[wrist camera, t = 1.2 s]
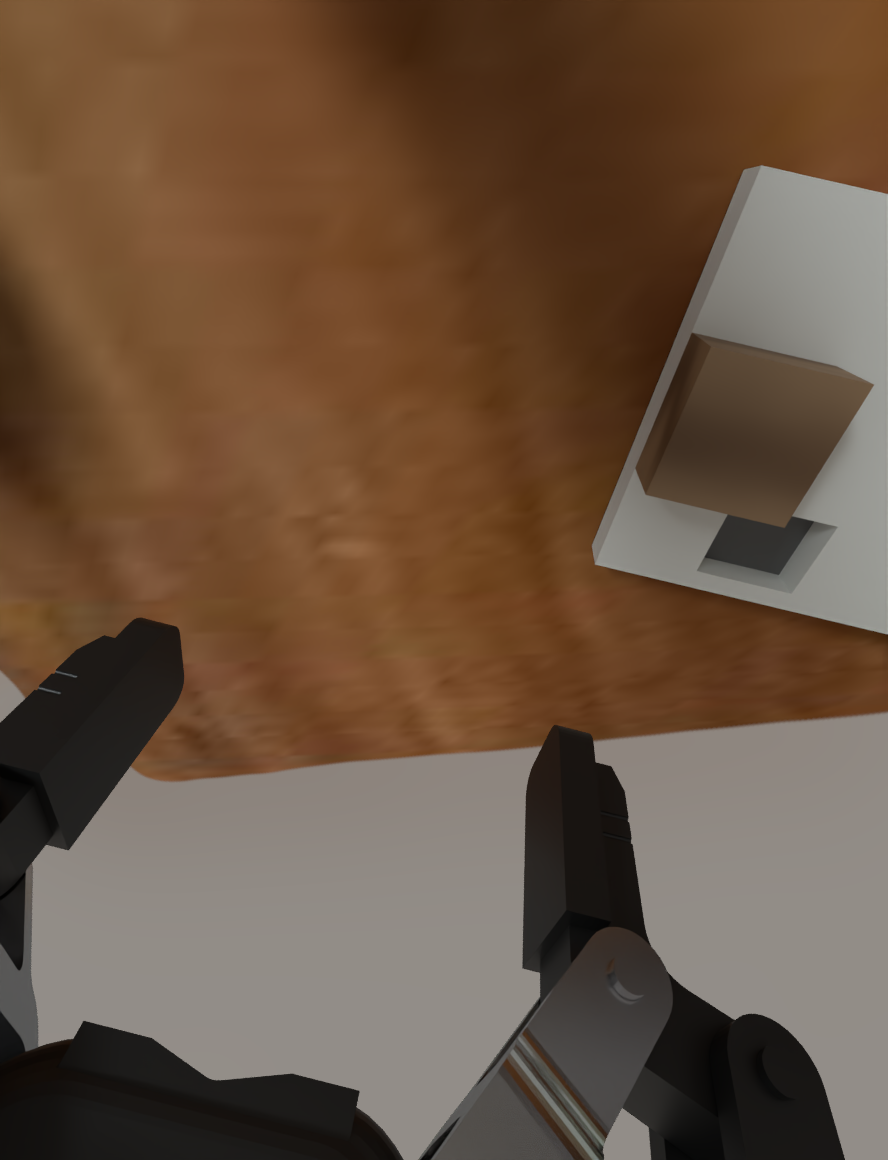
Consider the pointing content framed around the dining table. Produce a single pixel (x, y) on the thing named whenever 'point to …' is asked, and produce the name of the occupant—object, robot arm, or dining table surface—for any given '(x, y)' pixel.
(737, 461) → the block
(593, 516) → the dining table surface
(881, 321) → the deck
